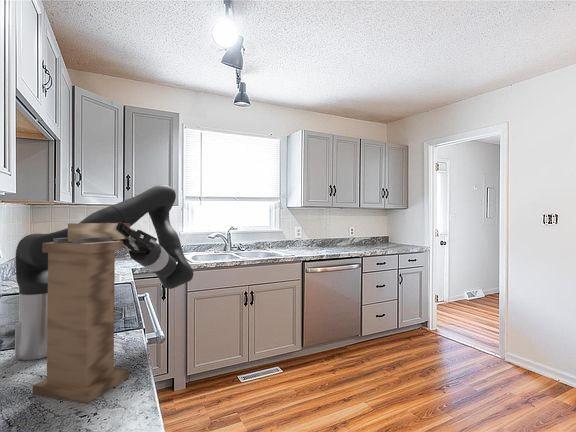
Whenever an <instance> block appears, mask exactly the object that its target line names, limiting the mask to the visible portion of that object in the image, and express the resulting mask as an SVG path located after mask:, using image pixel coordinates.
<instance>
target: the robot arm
mask: <svg viewBox="0 0 576 432" xmlns="http://www.w3.org/2000/svg"><path fill="white" fill-rule="evenodd" d="M176 197H177V193H176V190H175V189H174V188H173V187H172V186H169V185H167V184H166V185H165V184H158V185H154V186H151V188H148V189H147V190H145V191H143V192H141V193H139V194H137V195H135V196H132V197H129V198H127V199H125V200H122V201H120V202H117V203H115V204H111V205H108V206H106V207H104V208H101V209H98V210H96V211H95V212H92V213H91V214H89V215H88V216H86V217H85V218H83V219H82V220H81V221H80V222H79V223H118V225H117V228H116V230H117V231H119V232H120V233H121V234H123V235H124V236H127V238H128V239H116V240H113V241H123V249H125V250H127V251H128V255H129V256H130V258H131V259H132V260H133V261H135V263H138V264H139V265H141V266H142V267H143V268H145V269H146V270H148V271H151V272H152V273H153V274H155V276H156V277H157V278H158V280H159V281H160V282H161V285H162V287H164V288H165V289H168V290H172V289H175V288H177V287H180V286H182V285H185V284H187V283H189V282H190V281H192V280H193V277H194V270H193V267H192V266H191V264H190V263H189V262H188V260H187V258H186V256H185V253H184V251H183V248H182V244H181V240H180V237H179V235H178V232H176V230H175V229H174V227H172V225H171V221H170V211H171V209H172V208H173V206H174V204H175V202H176ZM146 214H148V216H149V218H150V220H151V221H152V222H151V223H152V225H153V227H154V230H155V233H156V237H155V236H153V235H151V234H149V233H147V232H144V231H143V230H140V229H136V230H135V229H134V228H131V227H132V226H133V225H134V224H136V223H137V222H138V221H139V220H140V219H142V218H143V217H144V216H145V215H146ZM124 223H130V228H129V227H127V226H126V225H125V224H124ZM55 238H68V227H67V228H64V229H61V230H58V231H57V230H56V231H54V232H48V233H32V234H31V233H30V234H28V235H25V236H24V237H22V238H21V239H20V240H19V241H18V243H17V246H16V248H15V276H16V277H15V279H16V282H17V285H18V321H17V322H16V323H15V324H14V325H15V326H14V360H23V361H33V360H39V359H44V358H47V311H48V253H46V252H42V243H51V242H53V239H55ZM157 241H158V242H157Z"/></svg>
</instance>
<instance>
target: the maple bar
mask: <svg viewBox="0 0 576 432" xmlns="http://www.w3.org/2000/svg"><path fill="white" fill-rule="evenodd" d="M124 224H125V225H126V226H127V227H129V228H130V229H131V226H130V223H124ZM117 225H118V223H80V222H78V223H76V222H75V223H74V222H73V223H68V222H67V228H68V242H73V239H78V238H96V237H113V240H116V239H128V238H127V236H124V235H123V234H121V233H120V232H119V231H117V230H116V228H117Z"/></svg>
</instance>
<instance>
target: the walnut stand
mask: <svg viewBox="0 0 576 432" xmlns="http://www.w3.org/2000/svg"><path fill="white" fill-rule="evenodd" d="M123 250H124V248H123V241H113V237H96V238H78V239H73V242H68V238H55V239H53V242H51V243H42V252H46V253H48V311H47V357H46V379H43V380H40V381H39V382H37V383H34V384H32V396H36V397H44V398H50V399H56V400H57V399H58V400H64V401H71V402H77V403H83V404H89V403H91V402H92V401H93V400H95V399H97V398H98V397H100V396H101V395H103V394H104V393H106V392H107V391H109V390H111V389H113V388H114V387H115V386H118V385H119V384H121V383H122V382H123V381H125V380H126V379H127V378H129V377H130V375H129V374H130V373H129V372H130V371H129V370H130V369H129V368H128V367H122V366H121V367H118V366H115V282H116V281H115V280H116V279H115V277H116V276H115V274H116V273H115V271H116V270H115V269H116V268H115V267H116V263H115V260H116V254H115V253H116V251H123Z"/></svg>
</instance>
